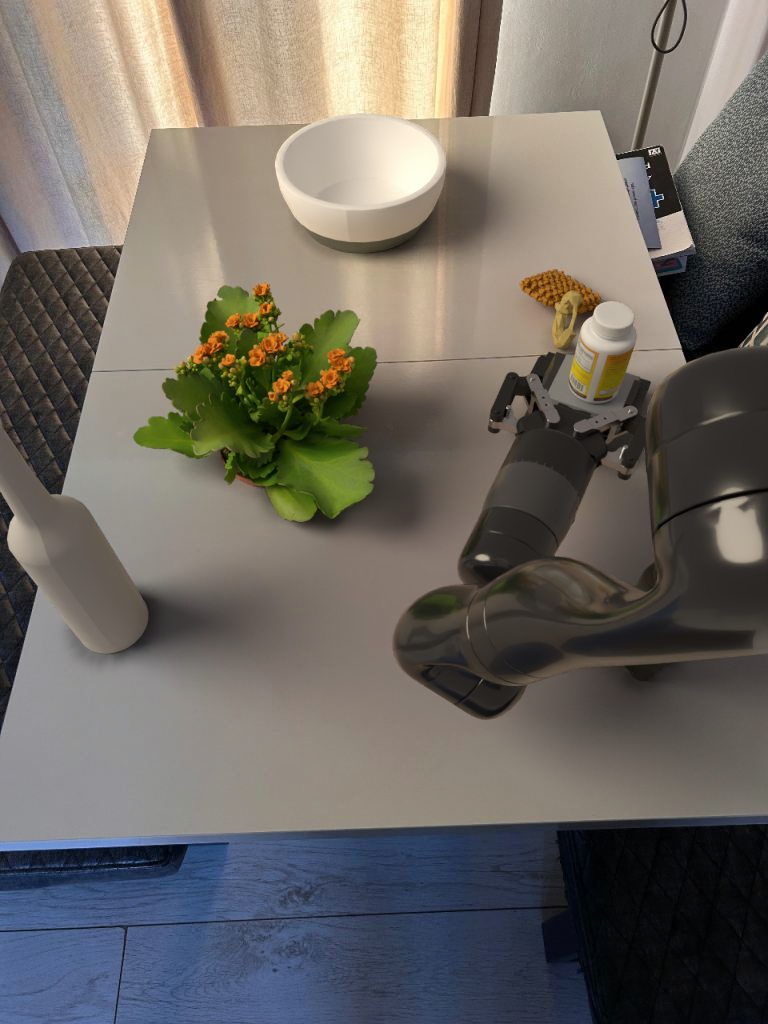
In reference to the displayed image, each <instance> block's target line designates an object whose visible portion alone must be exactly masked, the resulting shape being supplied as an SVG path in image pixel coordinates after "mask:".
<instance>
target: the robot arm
mask: <svg viewBox="0 0 768 1024" xmlns="http://www.w3.org/2000/svg"><path fill="white" fill-rule="evenodd" d="M555 355H556V352H555V353H554V352H553V351H548V352H547V354H546V355H544V354H541V355H540V356H538V357H537V359H536V361H535V363H534V365H533V367H532V368H531V370H530V372H529V374H527V375H525V376H520V375H519V374H518V373H517V372H515V371H509V372H507V373H506V375H505V377H504V379H503V382H502V384H501V386H500V388H499V390H498V392H497V395H496V397H495V400H494V402H493V404H492V406H491V408H490V412H489V417H488V424H487V431H488V432H489V433H491V434H494V435H496V434H499V433H500V432H501V430H502V431H505V432H508V433H510V434H511V433H512V434H514V436H515V438H514V440H513V442H512V444H511V446H510V449H509V450H508V452H507V454H506V456H505V458H504V460H503V462H502V464H501V466H500V468H499V470H498V472H497V474H496V476H495V478H494V480H493V482H492V484H491V486H490V487H489V489H488V492H487V494H486V496H485V498H484V502H483V505H482V509H481V511H480V514H479V516H478V518H477V520H476V522H475V524H474V526H473V528H472V530H471V531H470V533H469V536H468V537H467V540H466V541H465V544H464V545H463V548H462V549H461V552H460V554H459V557H458V560H457V562H456V563H457V564H456V570H457V576H458V577H459V579H460V581H461V582H462V584H460V583H459V584H449V585H444V586H440V587H437V588H434V589H432V590H430V591H427V592H425V593H424V594H422V595H421V596H419V597H418V598H416V599H415V600H414V601H412V602H411V604H409V605H408V607H407V608H406V609H405V610H404V611H403V613H401V615H400V617H399V618H398V620H397V622H396V624H395V627H394V630H393V633H392V640H391V649H392V650H391V651H392V654H393V657H394V660H395V663H396V664H397V666H398V667H399V669H400V670H401V671H402V672H403V673H404V674H405V675H406V676H408V677H409V678H411V679H412V680H413V681H414V682H417V683H418V684H420V685H421V686H423V687H424V688H426V689H428V690H430V691H431V692H432V693H434V694H436V695H438V696H439V697H441V698H442V699H444V700H445V701H447V702H448V703H450V704H451V705H453V706H455V707H456V708H458V709H459V710H460V711H462V712H464V713H466V714H467V715H469V716H471V717H473V718H476V719H479V720H482V721H491V720H496V719H498V718H500V717H502V716H504V715H506V714H507V713H509V712H510V711H511V710H512V709H514V707H515V706H516V705H517V704H518V703H519V702H520V700H521V699H522V697H523V695H524V693H525V692H526V689H527V687H528V685H530V684H533V683H537V682H540V681H543V680H547V679H550V678H554V677H558V676H560V675H564V674H567V673H570V672H574V671H578V670H586V669H593V668H601V667H602V668H605V667H623V666H624V667H625V665H644V664H659V663H667V664H671V663H683V662H691V661H702V660H712V659H724V658H736V657H737V658H738V657H747V656H758V655H759V656H760V655H768V344H762V345H761V344H759V345H751V346H750V345H749V346H743V347H742V346H741V347H740V346H739V347H733V348H729V349H724V350H720V351H715V352H711V353H709V354H706V355H703V356H701V357H697V358H696V359H693V360H691V361H688V362H686V363H684V364H683V365H681V366H680V367H678V368H677V369H675V370H674V371H672V372H671V373H669V374H668V375H667V376H666V377H665V378H664V379H663V380H662V381H661V382H660V383H659V385H657V387H656V389H655V390H654V392H653V393H652V397H651V399H650V400H649V403H648V406H647V409H646V410H647V411H646V416H645V417H644V416H642V414H640V412H639V408H640V406H641V403H642V401H643V398H644V396H645V393H646V391H645V388H643V387H640V385H641V382H642V381H639V380H636V379H635V380H634V382H633V384H632V387H631V389H630V392H629V394H628V396H627V399H626V401H625V404H624V406H623V408H622V409H619V410H617V411H614V412H612V411H607V412H605V413H602V414H600V415H597V416H595V417H592V416H591V413H589V412H586V411H582V410H575V409H572V408H571V407H569V406H567V405H565V404H562V403H558V405H553V403H552V401H551V399H550V396H549V394H548V392H547V390H546V389H544V388H543V386H544V384H545V382H546V380H547V378H548V376H549V374H550V372H551V370H552V367H553V364H554V359H555ZM516 397H522V398H523V399H524V402H525V405H526V407H527V409H528V415H526V416H524V415H523V416H521V417H520V418H519V419H517V418H516V417H515V410H514V409H513V408H512V405H513V403H514V400H515V398H516ZM628 432H629V433H631V435H632V436H633V437H632V438H631V440H630V443H629V445H624V446H623V447H620V448H618V449H617V450H616V451H614V452H609V451H608V447H607V444H609V443H610V442H611V441H612V440H613V439H614V438H616V437H618V436H621V435H623V434H625V433H628ZM643 452H644V463H645V464H644V465H645V474H646V478H647V479H646V481H647V493H648V494H647V495H648V504H649V507H648V509H649V518H650V531H651V532H650V533H651V534H650V535H651V554H652V560H653V562H654V564H655V568H656V571H657V582H656V585H655V586H654V587H653V588H652V589H651V590H650V591H648V592H645V591H643V590H640V589H637V588H635V586H633V585H631V584H629V583H626V582H625V581H622V580H621V579H619V578H617V577H616V576H614V575H613V574H610V573H609V572H607V571H606V570H602V569H601V568H599V567H597V566H595V565H593V564H591V563H589V562H586V561H584V560H580V559H577V558H573V557H569V556H558V555H556V554H557V552H558V550H559V548H560V546H561V544H562V543H563V542H564V540H565V538H566V537H567V535H568V534H569V532H570V529H571V528H572V525H573V524H574V522H575V520H576V517H577V514H578V510H579V508H580V507H581V506H580V505H581V503H582V501H583V499H584V496H585V494H586V491H587V489H588V487H589V484H590V482H591V479H592V477H593V475H594V472H595V471H596V469H598V468H599V467H601V466H602V465H603V466H605V467H608V468H611V469H613V470H615V471H617V473H616V476H617V477H618V479H620V480H622V481H628V480H629V479H631V477H632V475H633V474H634V471H635V469H636V467H637V464H638V462H639V460H640V459H641V456H642V454H643Z"/></svg>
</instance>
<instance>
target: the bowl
mask: <svg viewBox="0 0 768 1024" xmlns="http://www.w3.org/2000/svg"><path fill="white" fill-rule="evenodd" d="M447 162H448V157H447V154H446V150H445V148H444V145H443V144H442V143H441V141H440V140H439V138H438V137H436V136H435V134H433V133H432V132H431V131H429V130H428V129H426V128H425V127H423V126H421V125H420V124H418V123H416V122H413V121H411V120H408V119H405V118H402V117H397V116H394V115H389V114H381V113H365V112H364V113H361V112H360V113H348V114H347V113H346V114H340V115H335V116H330V117H326V118H322V119H320V120H317V121H314V122H312V123H309V124H308V125H306V126H303V127H301V128H300V129H298V130H297V131H296V132H294V133H292V134H290V136H289V137H288V138H287V139H286V140H285V141H284V142H283V143H282V144H281V146H280V148H279V150H278V151H277V153H276V157H275V161H274V166H275V175H276V179H277V182H278V187H279V190H280V193H281V195H282V197H283V199H284V201H285V203H286V205H287V206H288V208H289V210H290V212H291V213H292V216H293V217H294V218H295V219H296V221H298V223H299V224H300V225H301V226H302V227H303V228H304V230H306V232H307V233H308V234H309V236H310V237H311V238H312V239H314V240H315V241H317V242H318V243H319V244H322V245H323V246H325V247H328V248H329V249H332V250H337V251H339V252H345V253H352V254H367V253H378V252H382V251H386V250H390V249H393V248H395V247H398V246H400V245H402V244H404V243H406V242H407V241H409V240H410V239H412V238H413V237H414V236H415V235H416V234H417V233H418V231H419V230H420V229H421V227H422V226H423V224H424V223H425V222H426V220H427V219H428V217H429V216H430V215H431V213H432V212H433V211H434V209H435V207H436V204H437V202H438V200H439V199H440V195H441V193H442V190H443V188H444V185H445V179H446V172H447V168H448V167H447V166H448V163H447Z"/></svg>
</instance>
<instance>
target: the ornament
mask: <svg viewBox="0 0 768 1024" xmlns="http://www.w3.org/2000/svg"><path fill="white" fill-rule="evenodd" d="M518 284H519V286H520V290H521V291H522V292H523V293H524V294H527V295H528V297H530V298H534V300H535V301H536V302H538V303H540V302H541V303H542V306H544V307H547V306H548V305H549V307H550V309H551V310H553V309H555V310H556V312H555V316H554V320H553V324H552V327H551V334H552V340H553V345H554V346H555V348H556V349H567V348H569V346H570V345H571V343H572V342H573V340H574V339H575V338H576V336H577V332H576V331H575V330H574V327H575V324H576V322H577V316H578V315H581V314H583V313H587V312H590V311H593V310H595V309H596V307H597V306H598V305H600V304H601V301H602V298H601V296H600V293H599V292H593V289H592V288H591V287H586V284H584V283H582V282H580V283H579V281H578V280H577V279H576V278H573V279H572V276H571V275H570V274H565V271H564V270H558V269H557V268H556V269H555V268H554V269H552V270H551V269H550V270H546V271H543V272H541V273H537V274H536V275H531V276H528V277H524V279H523V280H520V282H519V283H518ZM570 314H572V316H571V321H570V322H569V326H568V327H567V328H565V326H566V323H567V319H568V315H570Z"/></svg>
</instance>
